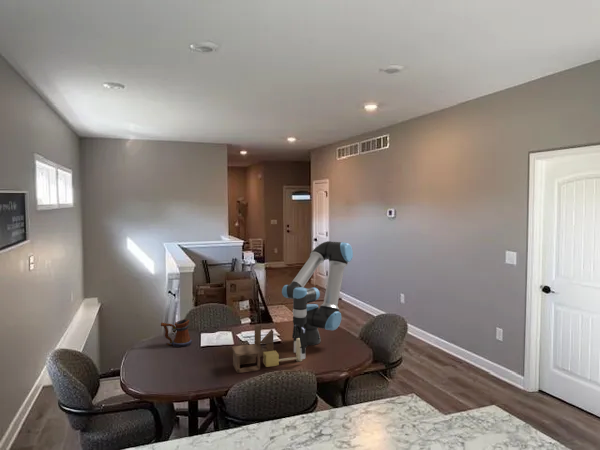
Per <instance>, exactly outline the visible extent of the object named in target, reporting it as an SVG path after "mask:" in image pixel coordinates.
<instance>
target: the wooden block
mask: <svg viewBox="0 0 600 450" xmlns="http://www.w3.org/2000/svg"><path fill="white" fill-rule="evenodd" d="M254 344H256V345H257V346H258V348H259V349H260V350H261V353H260V358H261V357H262V358H263V352H268V351H274V330H273V329H270V330H269V331H268V332H267V333H266V334H265V336H264V337H263V338H262V325H261V324H260V323H259V324H258V323H257V324H254ZM262 345H265V348H263V347H262ZM255 358H257V354H255Z"/></svg>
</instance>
